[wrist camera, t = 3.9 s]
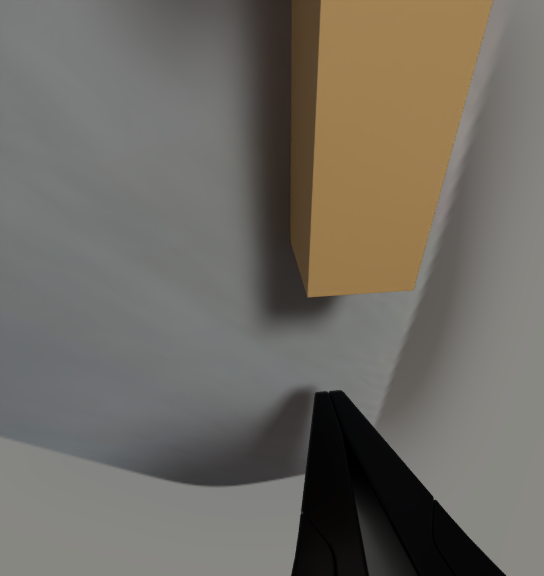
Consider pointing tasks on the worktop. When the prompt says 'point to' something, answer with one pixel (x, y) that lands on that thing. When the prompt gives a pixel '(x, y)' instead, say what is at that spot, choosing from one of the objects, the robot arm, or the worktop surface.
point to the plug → (374, 133)
